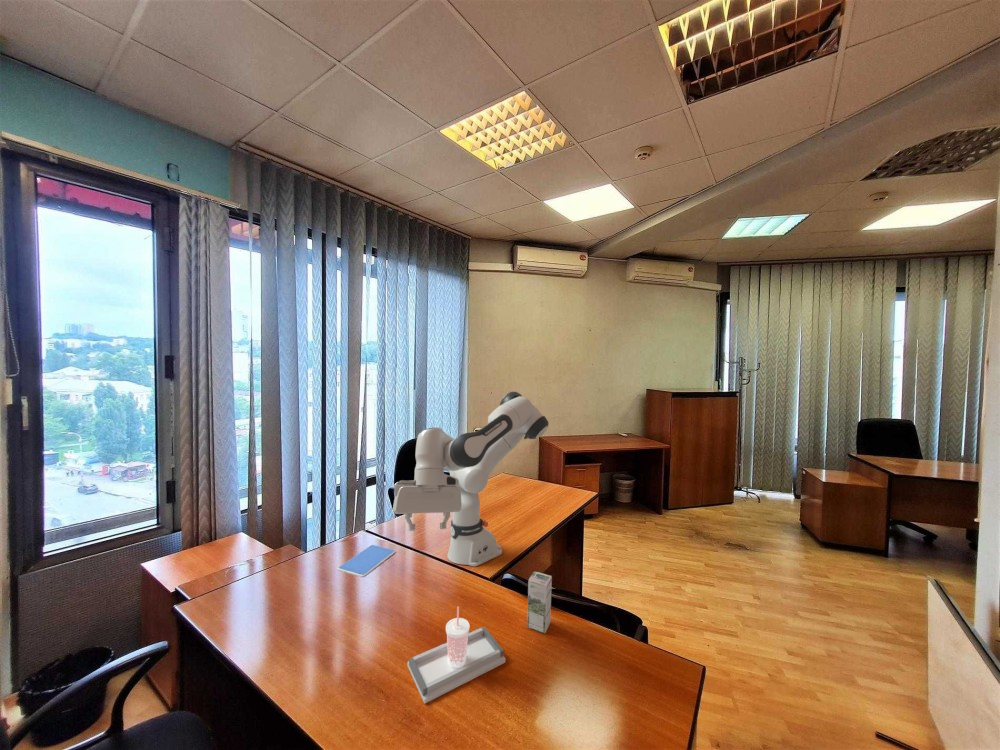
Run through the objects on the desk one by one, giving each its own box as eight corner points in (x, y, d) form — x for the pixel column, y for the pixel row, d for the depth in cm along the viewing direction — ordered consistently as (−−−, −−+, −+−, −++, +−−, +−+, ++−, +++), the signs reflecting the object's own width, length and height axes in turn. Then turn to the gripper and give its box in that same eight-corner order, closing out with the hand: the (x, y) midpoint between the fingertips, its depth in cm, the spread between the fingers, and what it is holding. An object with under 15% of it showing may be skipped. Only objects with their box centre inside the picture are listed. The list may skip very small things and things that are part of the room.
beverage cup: (472, 665, 90) (473, 610, 90) (449, 674, 88) (450, 617, 87) (464, 648, 96) (465, 596, 96) (442, 655, 93) (442, 602, 93)
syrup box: (551, 622, 108) (552, 574, 108) (545, 635, 103) (546, 585, 102) (533, 616, 110) (534, 569, 110) (526, 628, 105) (527, 579, 105)
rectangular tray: (482, 632, 103) (482, 624, 103) (505, 662, 93) (505, 652, 93) (407, 665, 91) (407, 656, 91) (424, 703, 81) (424, 693, 81)
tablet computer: (363, 579, 128) (363, 575, 128) (335, 571, 132) (335, 567, 132) (396, 553, 146) (396, 550, 146) (371, 547, 150) (371, 543, 150)
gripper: (397, 478, 101) (394, 531, 96) (463, 479, 111) (463, 528, 106) (391, 481, 106) (388, 532, 101) (455, 482, 116) (455, 528, 111)
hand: (427, 530), depth 104 cm, fingers open, 8 cm apart
